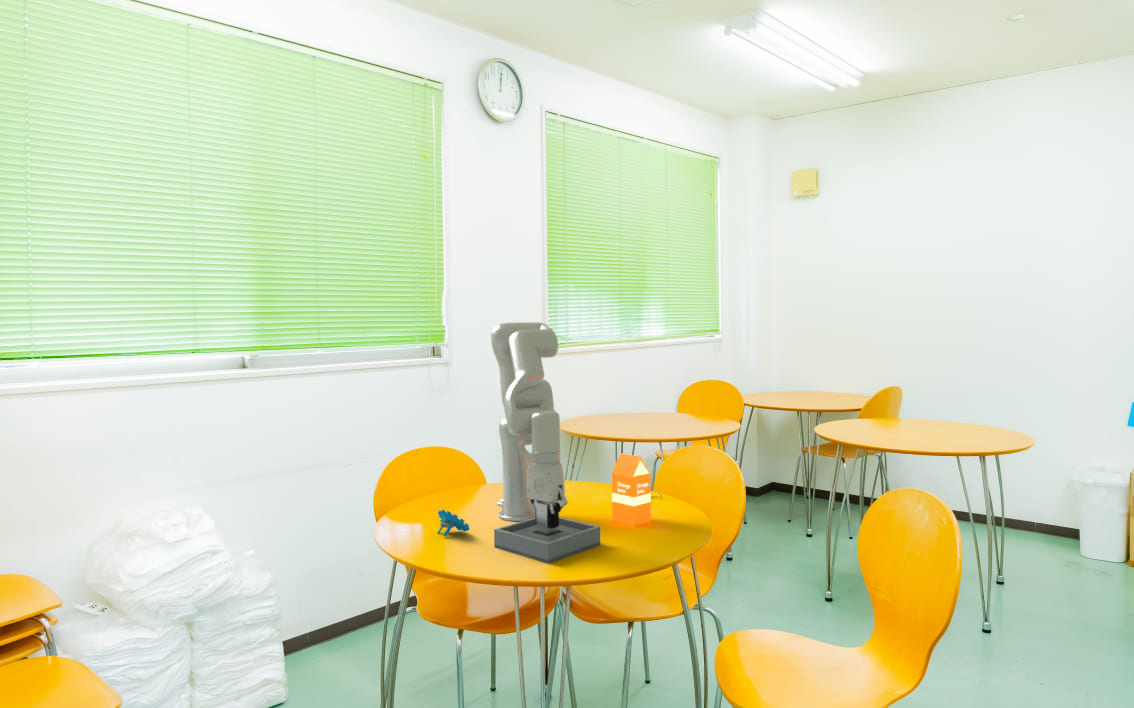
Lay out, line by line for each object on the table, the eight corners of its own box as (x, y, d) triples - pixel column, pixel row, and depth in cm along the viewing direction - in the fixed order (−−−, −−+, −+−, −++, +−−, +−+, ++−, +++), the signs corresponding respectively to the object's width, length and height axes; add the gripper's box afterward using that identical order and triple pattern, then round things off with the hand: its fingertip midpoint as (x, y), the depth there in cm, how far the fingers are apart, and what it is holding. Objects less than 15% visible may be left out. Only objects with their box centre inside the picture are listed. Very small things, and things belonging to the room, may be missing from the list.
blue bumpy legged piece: (477, 528, 199) (451, 507, 195) (466, 546, 196) (440, 526, 192) (457, 527, 208) (432, 507, 204) (446, 544, 205) (421, 525, 201)
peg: (536, 536, 189) (536, 502, 189) (547, 532, 192) (546, 500, 192) (547, 539, 186) (546, 505, 186) (557, 535, 189) (557, 502, 189)
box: (494, 548, 189) (494, 529, 188) (547, 531, 203) (546, 514, 203) (548, 564, 175) (547, 544, 175) (600, 545, 190) (600, 526, 190)
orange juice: (629, 516, 219) (628, 451, 218) (651, 521, 212) (650, 455, 211) (611, 521, 213) (611, 454, 212) (633, 526, 207) (633, 458, 206)
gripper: (514, 456, 191) (515, 523, 192) (559, 463, 180) (560, 534, 181) (533, 452, 197) (535, 517, 197) (579, 459, 185) (580, 528, 186)
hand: (547, 524), depth 189 cm, fingers open, 4 cm apart
